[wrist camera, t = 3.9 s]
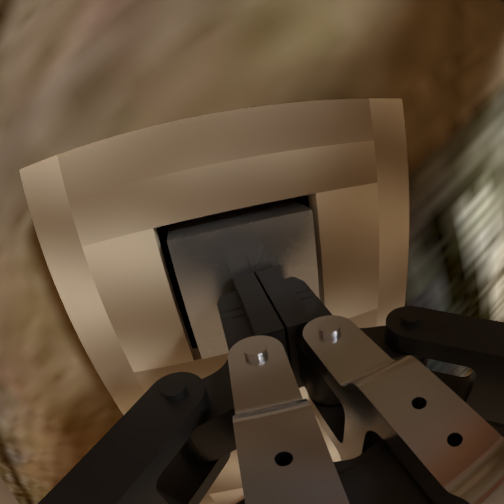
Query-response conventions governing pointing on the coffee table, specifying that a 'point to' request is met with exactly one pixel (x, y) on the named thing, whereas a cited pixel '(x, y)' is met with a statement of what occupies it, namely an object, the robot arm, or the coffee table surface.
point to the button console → (212, 202)
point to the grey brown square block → (238, 258)
